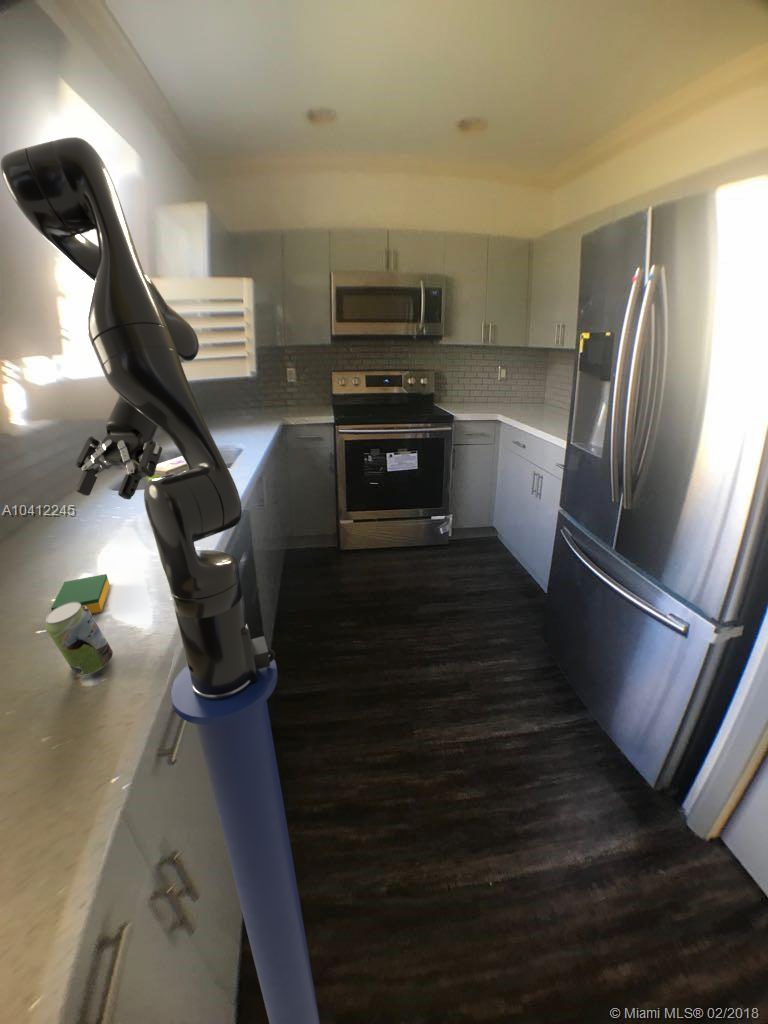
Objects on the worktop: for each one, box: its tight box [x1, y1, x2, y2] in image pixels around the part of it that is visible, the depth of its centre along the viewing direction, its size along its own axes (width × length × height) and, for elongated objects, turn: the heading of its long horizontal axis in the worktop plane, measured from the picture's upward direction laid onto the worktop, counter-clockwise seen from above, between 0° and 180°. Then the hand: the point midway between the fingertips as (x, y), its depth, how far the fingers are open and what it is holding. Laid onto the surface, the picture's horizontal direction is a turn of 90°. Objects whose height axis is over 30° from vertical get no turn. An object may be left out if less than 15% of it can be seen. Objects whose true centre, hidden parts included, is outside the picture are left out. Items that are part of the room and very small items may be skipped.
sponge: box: [50, 573, 111, 615], centre depth 95 cm, size 8×11×3 cm
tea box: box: [145, 455, 189, 484], centre depth 144 cm, size 15×10×15 cm, turn 154°
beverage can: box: [45, 602, 114, 676], centre depth 74 cm, size 6×7×12 cm
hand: (102, 495), depth 76 cm, fingers open, 8 cm apart
